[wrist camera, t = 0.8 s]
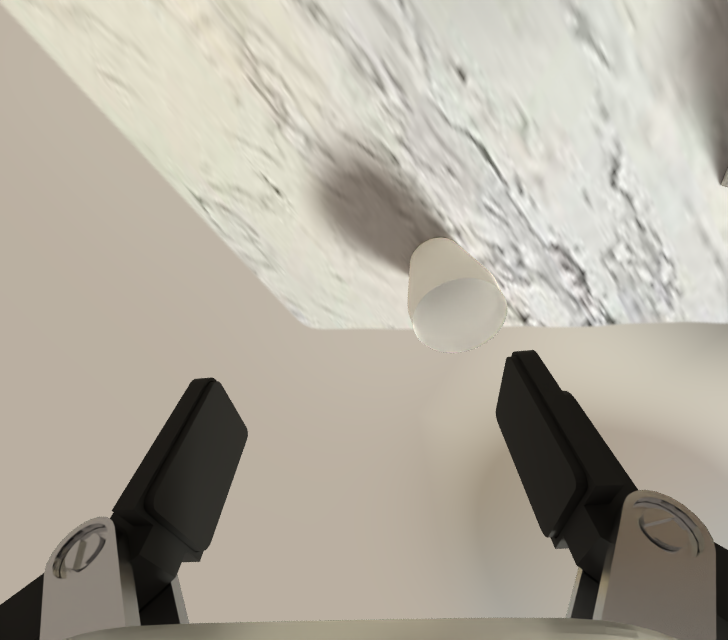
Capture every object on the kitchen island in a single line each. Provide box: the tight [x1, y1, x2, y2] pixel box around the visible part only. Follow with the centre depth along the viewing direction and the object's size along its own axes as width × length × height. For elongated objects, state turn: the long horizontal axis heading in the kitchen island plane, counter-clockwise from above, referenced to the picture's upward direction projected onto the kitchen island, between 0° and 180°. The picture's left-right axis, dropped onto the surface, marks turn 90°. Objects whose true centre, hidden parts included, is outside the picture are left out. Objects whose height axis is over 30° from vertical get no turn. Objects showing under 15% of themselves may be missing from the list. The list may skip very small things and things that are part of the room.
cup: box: [408, 238, 507, 353], centre depth 34 cm, size 9×9×12 cm
